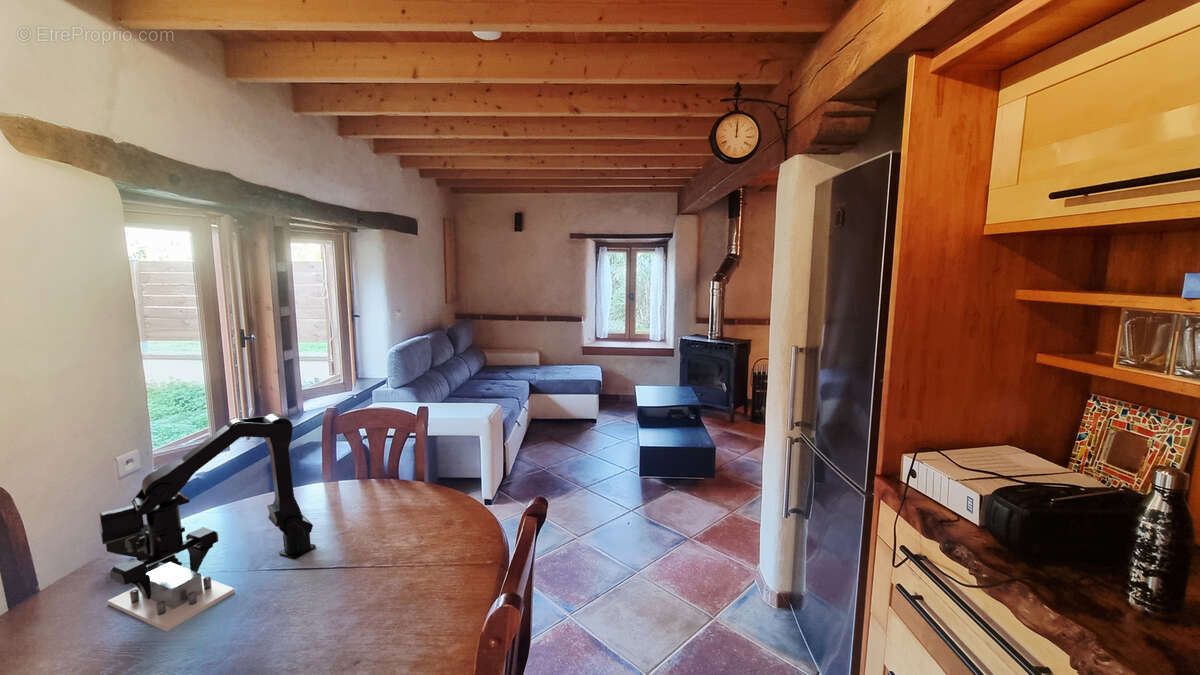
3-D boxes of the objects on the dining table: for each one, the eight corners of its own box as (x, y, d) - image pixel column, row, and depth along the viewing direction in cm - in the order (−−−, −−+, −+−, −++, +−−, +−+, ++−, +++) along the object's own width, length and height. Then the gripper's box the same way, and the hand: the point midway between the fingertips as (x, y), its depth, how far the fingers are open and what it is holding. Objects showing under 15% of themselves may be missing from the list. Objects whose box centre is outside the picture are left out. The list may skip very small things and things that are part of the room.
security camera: (163, 578, 122) (158, 541, 121) (106, 567, 126) (102, 531, 124) (191, 562, 129) (187, 527, 127) (136, 552, 133) (132, 518, 131)
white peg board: (234, 592, 118) (233, 579, 117) (166, 631, 105) (164, 617, 104) (178, 570, 126) (176, 557, 125) (108, 604, 113) (106, 590, 112)
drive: (202, 593, 116) (201, 573, 115) (173, 609, 110) (171, 589, 110) (171, 580, 120) (169, 561, 119) (142, 595, 114) (139, 576, 114)
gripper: (188, 501, 124) (194, 557, 126) (91, 538, 107) (100, 602, 109) (216, 509, 120) (222, 567, 122) (121, 550, 103) (130, 616, 105)
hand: (171, 586), depth 115 cm, fingers open, 9 cm apart
